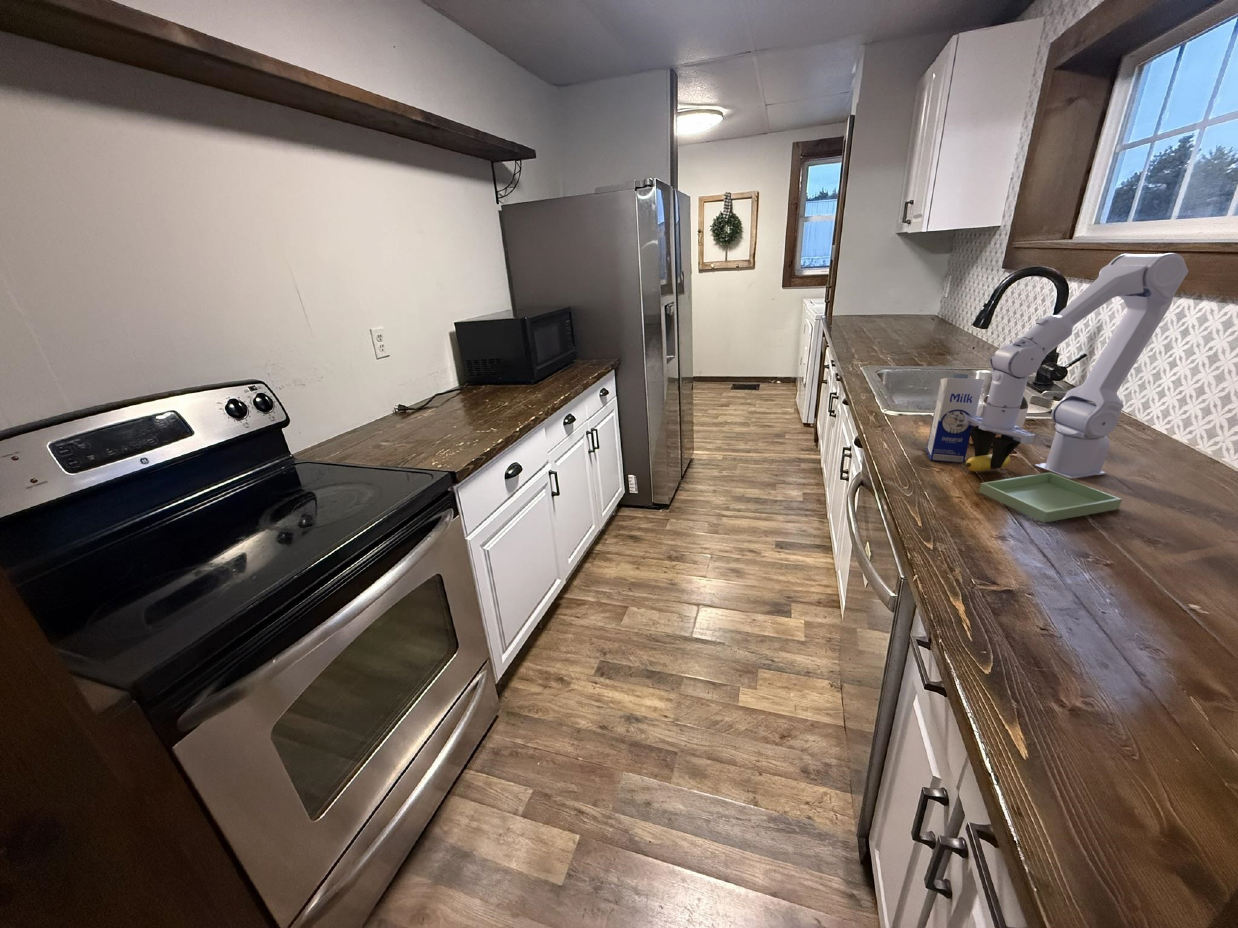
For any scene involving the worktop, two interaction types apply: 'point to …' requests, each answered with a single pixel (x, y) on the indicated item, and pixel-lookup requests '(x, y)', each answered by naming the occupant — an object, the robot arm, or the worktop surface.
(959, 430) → the milk carton
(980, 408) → the spread jar
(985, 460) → the banana
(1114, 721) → the worktop surface
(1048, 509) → the tray
